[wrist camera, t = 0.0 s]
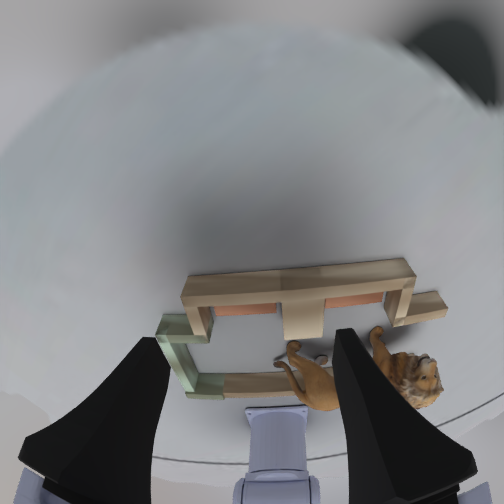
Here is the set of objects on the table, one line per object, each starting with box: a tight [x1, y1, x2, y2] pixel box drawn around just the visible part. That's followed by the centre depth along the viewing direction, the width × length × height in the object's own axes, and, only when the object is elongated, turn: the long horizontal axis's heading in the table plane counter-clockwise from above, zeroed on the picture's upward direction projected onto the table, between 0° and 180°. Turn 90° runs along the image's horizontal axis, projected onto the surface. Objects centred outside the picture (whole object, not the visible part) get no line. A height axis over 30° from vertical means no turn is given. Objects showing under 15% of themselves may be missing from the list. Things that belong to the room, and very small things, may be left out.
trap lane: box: [155, 258, 448, 400], centre depth 23 cm, size 14×25×3 cm, turn 97°
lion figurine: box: [273, 326, 444, 411], centre depth 21 cm, size 15×5×9 cm, turn 109°
